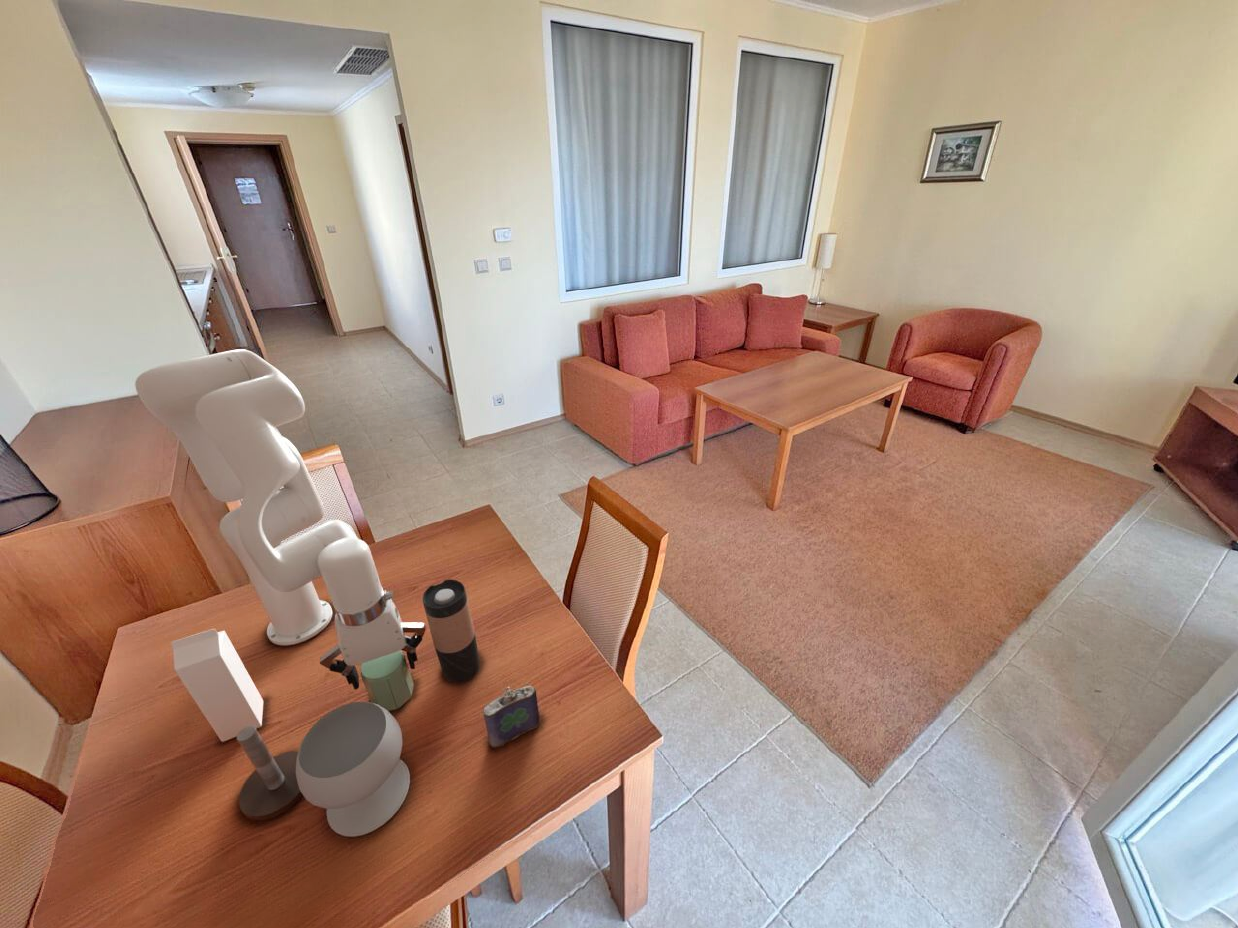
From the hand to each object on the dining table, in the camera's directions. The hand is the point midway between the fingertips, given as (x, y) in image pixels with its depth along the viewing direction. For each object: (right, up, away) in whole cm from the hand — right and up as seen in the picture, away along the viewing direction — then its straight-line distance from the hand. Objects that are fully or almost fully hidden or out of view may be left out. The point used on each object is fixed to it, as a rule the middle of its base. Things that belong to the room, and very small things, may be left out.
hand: (385, 673), depth 92 cm
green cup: (0, -5, +2) cm, 6 cm away
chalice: (+4, -14, -13) cm, 20 cm away
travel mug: (+12, -2, +8) cm, 14 cm away
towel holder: (-12, -13, -12) cm, 21 cm away
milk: (-25, -8, -2) cm, 26 cm away
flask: (+25, -9, -4) cm, 27 cm away
